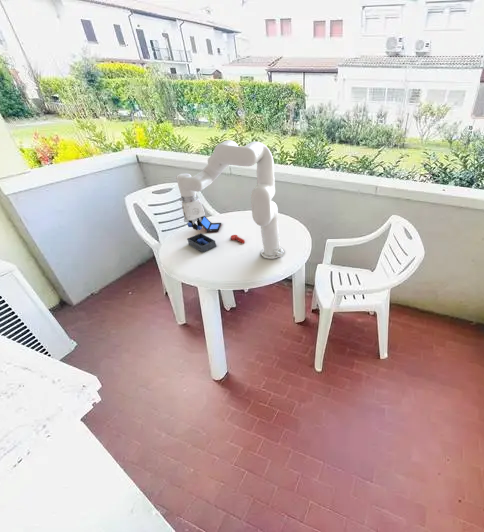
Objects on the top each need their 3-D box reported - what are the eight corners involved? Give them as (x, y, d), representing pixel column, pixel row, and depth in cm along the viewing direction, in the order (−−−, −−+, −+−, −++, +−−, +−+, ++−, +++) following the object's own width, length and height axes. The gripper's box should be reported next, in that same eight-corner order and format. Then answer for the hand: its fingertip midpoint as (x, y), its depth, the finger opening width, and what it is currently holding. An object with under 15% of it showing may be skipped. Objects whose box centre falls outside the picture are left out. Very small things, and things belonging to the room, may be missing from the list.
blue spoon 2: (213, 245, 169) (212, 242, 168) (207, 248, 167) (206, 245, 165) (202, 239, 175) (201, 236, 174) (196, 242, 173) (195, 238, 171)
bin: (216, 246, 169) (215, 240, 167) (202, 252, 163) (201, 246, 161) (202, 238, 177) (200, 233, 175) (188, 244, 171) (187, 238, 169)
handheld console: (218, 232, 184) (216, 222, 180) (201, 233, 183) (198, 222, 179) (222, 223, 195) (219, 213, 190) (205, 224, 194) (203, 214, 189)
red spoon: (247, 242, 174) (246, 238, 173) (241, 244, 171) (240, 241, 170) (235, 236, 180) (234, 233, 179) (229, 238, 177) (229, 235, 176)
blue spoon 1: (204, 229, 161) (203, 225, 160) (197, 231, 158) (196, 228, 157) (193, 223, 167) (192, 220, 165) (186, 225, 164) (185, 222, 163)
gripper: (179, 204, 143) (188, 235, 154) (207, 195, 154) (214, 225, 164) (171, 200, 147) (181, 231, 158) (199, 192, 157) (206, 222, 168)
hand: (197, 228), depth 161 cm, fingers closed on blue spoon 1, 2 cm apart
